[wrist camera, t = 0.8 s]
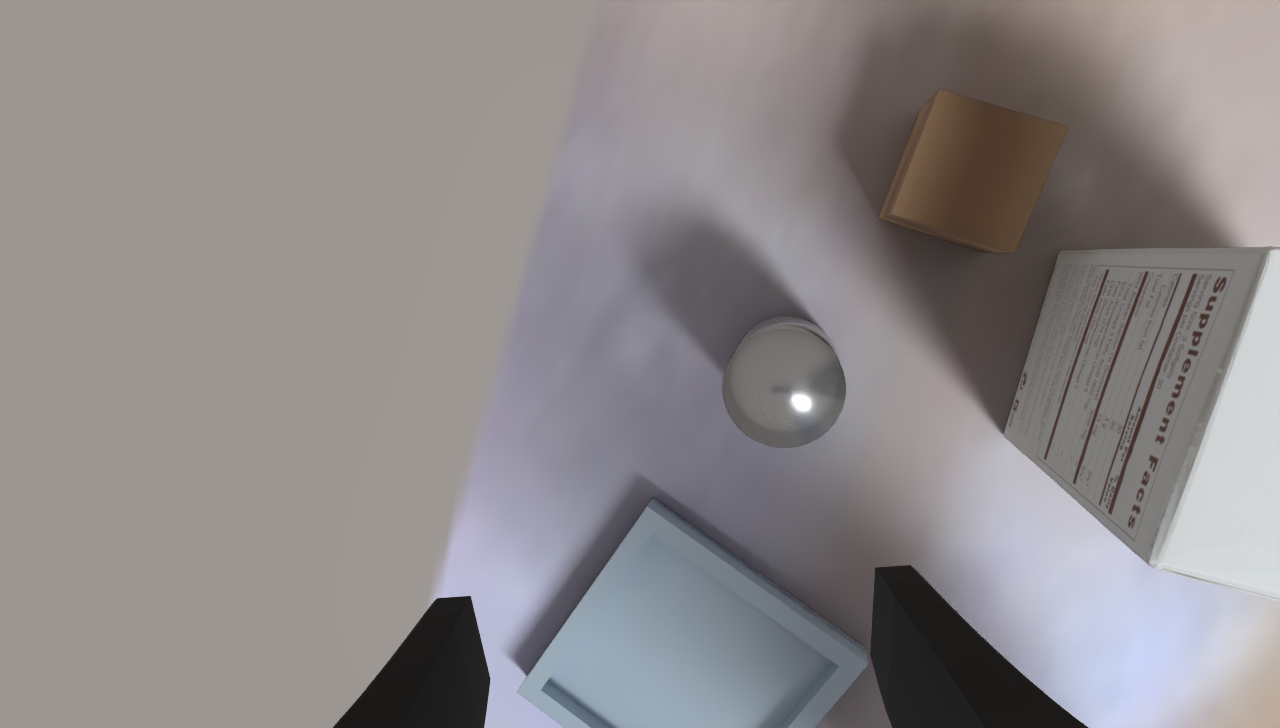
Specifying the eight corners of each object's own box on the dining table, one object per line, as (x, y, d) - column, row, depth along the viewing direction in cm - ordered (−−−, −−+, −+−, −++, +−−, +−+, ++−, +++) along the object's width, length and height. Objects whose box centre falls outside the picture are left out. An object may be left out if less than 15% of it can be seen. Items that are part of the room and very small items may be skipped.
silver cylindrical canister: (858, 353, 29) (871, 374, 24) (798, 435, 30) (798, 470, 25) (772, 295, 29) (767, 304, 24) (715, 378, 30) (699, 402, 25)
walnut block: (1028, 145, 27) (1068, 126, 23) (983, 252, 27) (1014, 252, 24) (918, 112, 27) (939, 89, 23) (877, 218, 28) (891, 213, 24)
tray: (866, 648, 30) (868, 664, 29) (719, 821, 33) (717, 842, 32) (652, 497, 31) (647, 506, 30) (526, 676, 34) (516, 692, 33)
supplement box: (1278, 289, 26) (1724, 322, 13) (1202, 488, 27) (1543, 684, 15) (1054, 243, 27) (1274, 234, 15) (992, 436, 28) (1146, 577, 16)
